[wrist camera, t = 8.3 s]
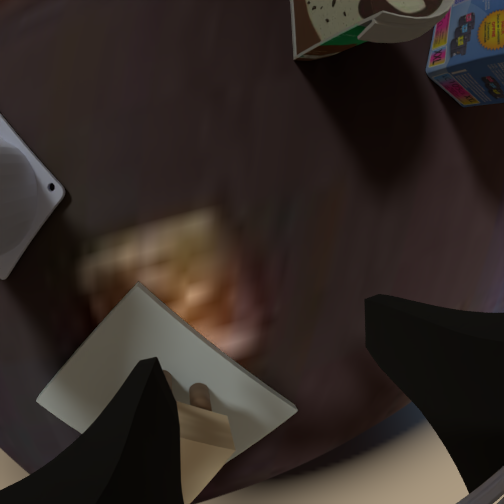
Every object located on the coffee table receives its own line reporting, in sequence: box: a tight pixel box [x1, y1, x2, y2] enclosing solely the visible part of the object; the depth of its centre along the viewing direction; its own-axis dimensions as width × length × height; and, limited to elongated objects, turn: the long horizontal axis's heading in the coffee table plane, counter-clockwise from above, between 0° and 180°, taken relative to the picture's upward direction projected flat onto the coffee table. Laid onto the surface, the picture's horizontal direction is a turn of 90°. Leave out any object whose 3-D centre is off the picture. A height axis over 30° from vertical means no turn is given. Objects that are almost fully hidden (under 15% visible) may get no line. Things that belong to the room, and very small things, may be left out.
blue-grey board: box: [36, 281, 298, 463], centre depth 21 cm, size 16×14×1 cm
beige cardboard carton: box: [163, 370, 236, 504], centre depth 18 cm, size 5×9×6 cm, turn 151°
